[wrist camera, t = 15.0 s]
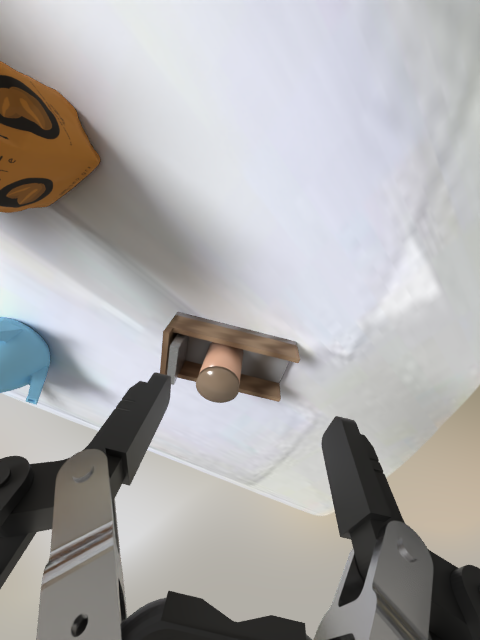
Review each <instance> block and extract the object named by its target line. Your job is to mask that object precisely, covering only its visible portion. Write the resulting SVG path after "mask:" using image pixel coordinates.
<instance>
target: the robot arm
mask: <svg viewBox="0 0 480 640" xmlns="http://www.w3.org/2000/svg"><path fill="white" fill-rule="evenodd" d="M170 389H171V376H168V375H164V374H160V373H154V374H153V375H152V377H151V378H150V380H149V381H148V383H146V382H142V381H140V382H138V383H137V384H135V385H134V386H132V387H131V388H130V389H129V390H128V391H127V393H126V394H125V396H124V397H123V398H122V401H120V402H119V404H118V405H117V407H116V409H114V411H113V412H112V414H111V415H110V416H109V418H108V419H107V420H106V422H105V423H104V425H103V426H102V427H101V429H100V430H99V432H98V433H97V434H96V436H95V437H94V438H93V440H92V441H91V442H90V444H89V445H88V446H87V447H86V448H85V449H84V450H82V451H81V452H78V453H76V454H75V455H73V456H72V457H71V458H68V459H65V460H61V461H55V462H46V463H37V464H29V462H28V461H27V460H26V459H25V458H23V457H20V456H10V457H5V458H2V459H0V589H1V587H2V586H3V584H4V582H5V581H6V579H7V578H8V576H9V574H10V573H11V571H12V570H13V568H14V567H15V565H16V563H17V562H18V561H19V559H20V557H21V556H22V554H23V553H24V551H25V550H26V548H27V546H28V545H29V543H30V542H31V540H32V539H33V537H34V535H35V534H36V532H38V531H43V530H49V529H52V539H51V551H50V558H49V562H48V564H47V565H46V567H45V570H44V573H43V578H42V584H41V594H40V605H39V617H38V627H37V638H36V640H312V639H311V638H310V637H309V636H307V635H306V631H305V623H302V622H298V621H293V620H289V619H285V618H281V617H277V616H272V615H270V616H266V617H261V618H256V619H252V620H247V621H242V622H234V621H232V620H231V619H229V618H228V617H226V616H225V615H224V614H222V613H221V612H220V611H218V610H217V609H215V608H214V607H213V606H211V605H210V604H208V603H207V602H206V601H204V600H203V599H201V598H197V597H193V596H188V595H184V594H180V593H176V592H172V591H168V594H167V598H164V599H159V600H156V601H153V602H151V603H148V604H147V605H145V606H143V607H141V608H140V609H138V610H137V611H136V612H134V613H133V614H132V615H130V616H129V617H128V618H127V611H126V601H125V591H124V583H123V572H122V565H121V558H120V548H119V537H118V529H117V528H118V527H117V517H116V507H115V496H116V494H117V492H118V490H119V489H120V487H121V484H126V485H130V484H131V482H132V480H133V478H134V476H135V474H136V471H137V469H138V468H139V465H140V463H141V461H142V459H143V457H144V455H145V453H146V451H147V449H148V447H149V445H150V443H151V440H152V438H153V436H154V434H155V432H156V430H157V428H158V426H159V424H160V422H161V420H162V418H163V416H164V413H165V411H166V409H167V407H168V404H169V400H170ZM322 450H323V455H324V460H325V465H326V470H327V475H328V480H329V484H330V489H331V494H332V499H333V504H334V509H335V514H336V519H337V523H338V528H339V533H340V537H343V538H347V539H351V540H352V544H353V549H352V550H351V552H350V554H349V557H348V560H347V563H346V566H345V569H344V571H343V575H342V577H341V580H340V583H339V586H338V589H337V591H336V594H335V597H334V600H333V602H332V605H331V607H330V609H329V610H328V611H327V613H326V614H325V615H324V617H323V619H322V621H321V623H320V625H319V627H318V630H317V632H316V635H315V637H314V640H480V569H479V568H477V567H475V566H472V565H466V566H463V567H461V568H457V567H456V566H454V565H452V564H451V563H449V562H447V561H446V560H444V559H442V558H441V557H439V556H438V555H436V554H434V553H433V552H431V551H429V550H428V549H427V547H426V546H425V544H424V542H423V541H422V540H421V538H420V537H419V536H418V535H417V534H416V532H415V531H413V529H411V528H410V527H409V526H407V525H406V524H405V523H404V520H403V518H402V516H401V514H400V511H399V509H398V506H397V504H396V501H395V499H394V497H393V494H392V492H391V489H390V487H389V484H388V482H387V479H386V477H385V475H384V474H383V470H382V467H381V465H380V463H379V462H378V461H379V460H378V457H377V455H376V453H375V450H374V448H373V446H372V445H371V443H370V442H369V441H368V439H367V438H366V437H365V435H362V434H360V432H359V429H358V427H357V424H356V422H355V421H354V420H351V419H347V418H342V417H338V416H336V417H335V418H334V419H333V421H332V422H331V424H330V425H329V427H328V428H327V430H326V431H325V433H324V434H323V437H322Z"/></svg>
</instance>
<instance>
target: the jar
mask: <svg viewBox="0 0 480 640" xmlns="http://www.w3.org/2000/svg"><path fill="white" fill-rule="evenodd" d="M242 361H243V349H239V348H235V347H231V346H227V345H223V344H219V343H215V342H212V343H211V344H210V346H209V348H208V351H207V354H206V357H205V359H204V362H203V365H202V367H201V370H200V373H199V376H198V378H197V381H196V388H197V391H198V392H199V393H200V395H201V396H203V397H204V398H205V399H207V400H209V401H212V402H218V403H223V402H228V401H231V400H232V399H234V398H235V397H236V396H237V394H238V391H239V384H240V376H241V369H242Z"/></svg>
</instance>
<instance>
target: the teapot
mask: <svg viewBox="0 0 480 640" xmlns="http://www.w3.org/2000/svg"><path fill="white" fill-rule="evenodd" d="M49 365H50V351H49V348H48V346H47V344H46V342H45V341H44V339H43V338H42V337H41V336H40V335H39V334H38V333H37V332H36V331H34V330H33V329H32V328H30V327H29V326H27V325H25V324H23V323H21V322H19V321H16V320H13V319H9V318H4V317H0V393H2V392H6V391H10V390H14V389H17V388H20V387H23V386H25V385H28V384H29V385H30V389H29V394H28V397H27V398H26V402H29V403H33V404H37V402H38V399H39V396H40V393H41V391H42V388H43V385H44V382H45V379H46V376H47V372H48V368H49Z"/></svg>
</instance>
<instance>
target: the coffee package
mask: <svg viewBox="0 0 480 640" xmlns="http://www.w3.org/2000/svg"><path fill="white" fill-rule="evenodd" d="M99 163H100V157H99V155H98V153H97V152H96V151H95V150H94V149H93V147H92V145H91V144H90V141H89V139H88V137H87V135H86V133H85V132H84V130H83V128H82V126H81V123H80V121H79V119H78V115H77V111H76V109H74V107H73V106H72V105H71V104H70V103H69V102H68V101H67V100H66V99H65V98H64V97H63V96H62V95H61V94H60V93H59V92H58V91H56V90H54V89H52V88H50V87H47V86H45V85H44V84H42V83H40V82H38V81H36V80H34V79H33V78H31V77H29V76H27V75H24V74H22V73H20V72H18V71H16V70H14V69H13V68H11V67H9V66H8V65H6V64H5V63H3V62H1V61H0V212H6V213H10V212H17V211H22V210H25V209H28V208H37V207H47V206H49V205H51V204H52V203H54V202H55V201H57V200H58V199H59V198H61V197H62V196H63V195H65V194H66V193H67V192H68V191H70V190H71V189H72V188H73V187H75V186H76V185H77V184H78V183H79V182H80V181H81V180H83V179H84V178H85V177H86V176H87V175H88V174H90V173H91V172H92V171H93V170H94V169H95V168H96V167H97V166H98V165H99Z"/></svg>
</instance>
